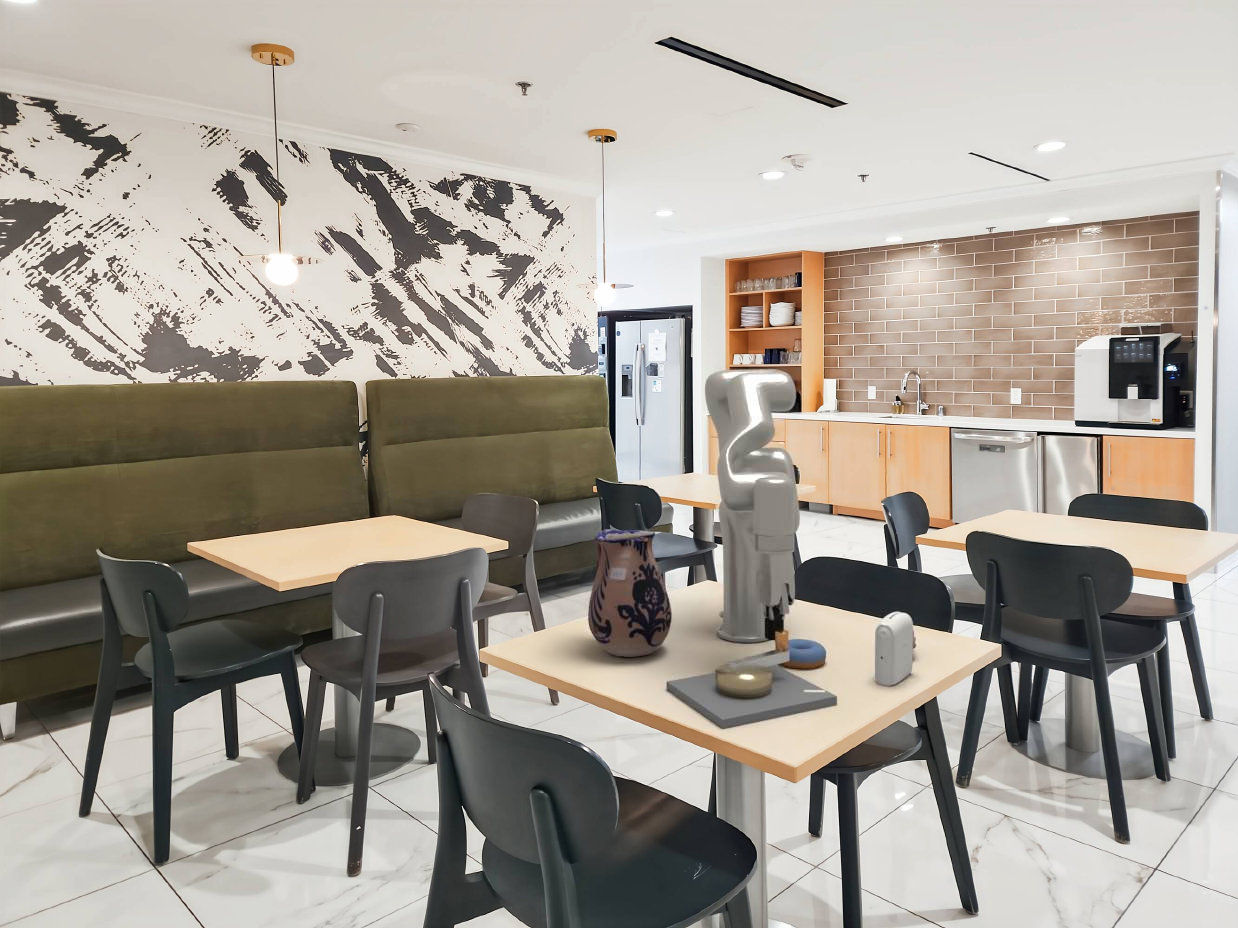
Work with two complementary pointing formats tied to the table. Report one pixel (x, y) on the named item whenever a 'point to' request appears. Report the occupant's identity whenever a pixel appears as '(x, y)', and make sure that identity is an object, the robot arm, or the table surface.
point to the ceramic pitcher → (628, 595)
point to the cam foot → (752, 671)
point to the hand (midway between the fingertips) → (774, 638)
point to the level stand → (733, 711)
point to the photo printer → (893, 648)
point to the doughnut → (805, 654)
